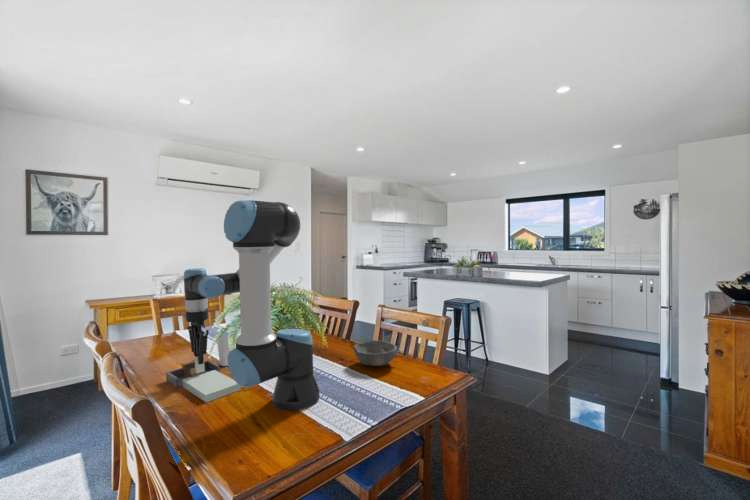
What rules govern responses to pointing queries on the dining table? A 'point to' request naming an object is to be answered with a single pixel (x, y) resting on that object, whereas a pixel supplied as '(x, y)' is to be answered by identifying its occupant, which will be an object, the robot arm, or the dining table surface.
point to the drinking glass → (223, 348)
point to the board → (210, 385)
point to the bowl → (375, 352)
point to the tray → (177, 377)
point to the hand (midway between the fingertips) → (199, 371)
